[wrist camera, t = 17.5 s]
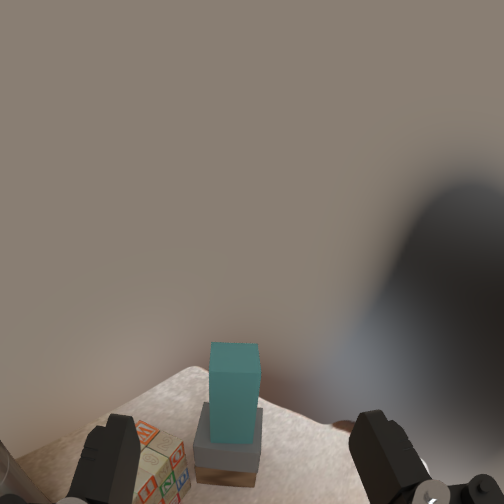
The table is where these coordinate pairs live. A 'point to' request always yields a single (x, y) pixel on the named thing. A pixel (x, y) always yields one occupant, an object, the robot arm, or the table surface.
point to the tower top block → (226, 447)
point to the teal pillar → (233, 392)
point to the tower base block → (225, 477)
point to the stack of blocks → (160, 467)
